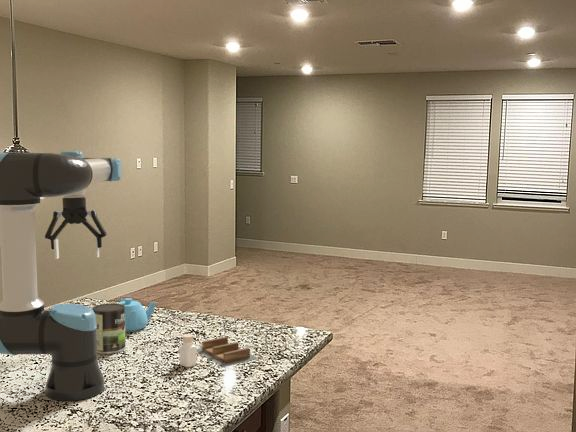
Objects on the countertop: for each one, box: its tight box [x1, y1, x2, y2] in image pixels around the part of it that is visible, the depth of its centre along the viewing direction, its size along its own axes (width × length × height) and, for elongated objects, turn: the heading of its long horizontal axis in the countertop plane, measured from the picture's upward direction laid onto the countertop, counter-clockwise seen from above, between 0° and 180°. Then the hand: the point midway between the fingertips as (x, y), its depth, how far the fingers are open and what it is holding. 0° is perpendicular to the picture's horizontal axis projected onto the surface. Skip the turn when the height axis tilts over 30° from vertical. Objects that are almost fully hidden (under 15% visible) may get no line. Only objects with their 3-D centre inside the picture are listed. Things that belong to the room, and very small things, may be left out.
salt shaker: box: [178, 333, 198, 368], centre depth 191 cm, size 4×4×10 cm
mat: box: [196, 342, 259, 368], centre depth 201 cm, size 19×13×1 cm
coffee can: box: [91, 302, 127, 355], centre depth 204 cm, size 10×10×14 cm
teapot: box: [116, 297, 157, 333], centre depth 229 cm, size 15×15×11 cm
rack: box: [201, 336, 251, 364], centre depth 200 cm, size 15×9×3 cm, turn 37°
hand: (77, 258), depth 215 cm, fingers open, 13 cm apart
